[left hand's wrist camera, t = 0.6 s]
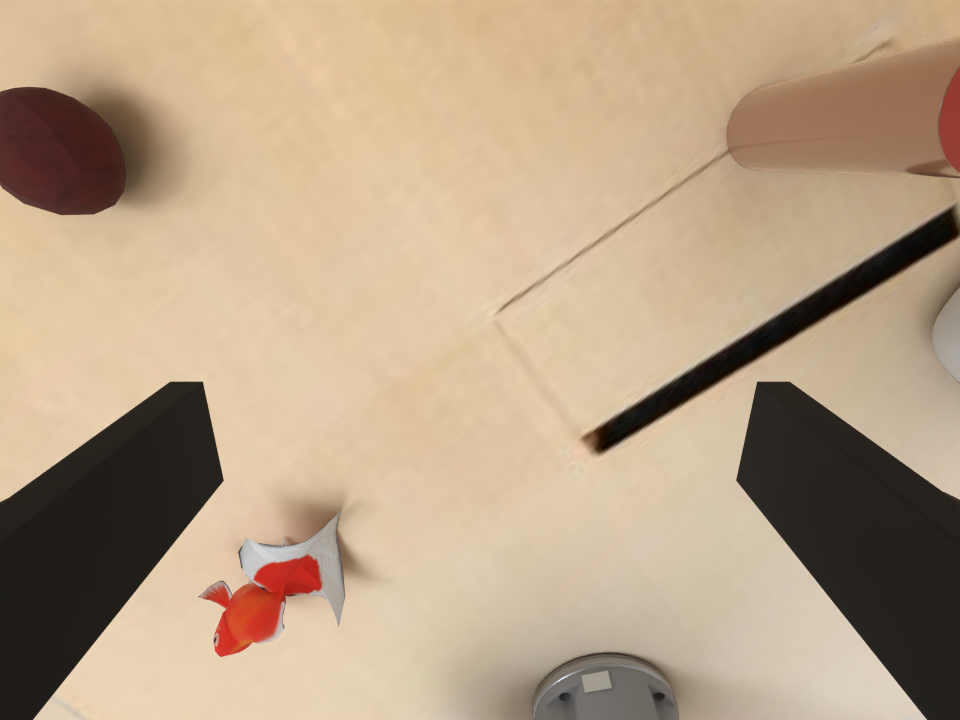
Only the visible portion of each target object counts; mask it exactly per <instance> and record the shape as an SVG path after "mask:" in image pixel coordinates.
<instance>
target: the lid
mask: <svg viewBox="0 0 960 720" xmlns="http://www.w3.org/2000/svg"><path fill="white" fill-rule="evenodd" d="M939 133H940V141H941V145H942V149H943V152H944V154H945V157H946V158H947V160H948V161H949V163H950V164H951V165H952V166H953V168H954V169H955V170H956V171H958V172H959V173H960V68H959V69H958V71H957V72H956V74H955V75H954V77H953V79H952V81H951V83H950V85H949V87H948V90H947V92H946V95H945V97H944V101H943V104H942V108H941V114H940V120H939Z"/></svg>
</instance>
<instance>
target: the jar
mask: <svg viewBox="0 0 960 720" xmlns="http://www.w3.org/2000/svg"><path fill="white" fill-rule="evenodd" d="M959 68H960V36H958V37H954V38H950V39H947V40H943V41H939V42H935V43H931V44H927V45H923V46H919V47H915V48H911V49H908V50H904V51H900V52H896V53H892V54H888V55H884V56H880V57H876V58H872V59H869V60H865V61H861V62H857V63H853V64H849V65H845V66H841V67H837V68H833V69H830V70H826V71H822V72H818V73H814V74H810V75H806V76H802V77H798V78H794V79H791V80H787V81H783V82H779V83H775V84H771V85H767V86H764V87H760V88H758V89H756V90H754V91H752V92H751V93H749V94H748V95H747V96H745V97H744V98H743V99H742V100H741V101H740V103H739V104H738V105H737V106H736V108H735V110H734V111H733V113H732V115H731V117H730V120H729V123H728V128H727V144H728V148H729V151H730V153H731V155H732V157H733V158H734V159H735V160H736V161H737V162H738V163H739V164H740V165H742V166H743V167H745V168H748V169H751V170H762V171H787V172H812V173H836V174H861V175H886V176H911V177H936V178H960V173H959V172H958V171H956V170H955V169H954V168H953V166H952V165H951V164H950V163H949V161H948V160H947V158H946V157H945V154H944V152H943V149H942V145H941V141H940V133H939V120H940V114H941V108H942V104H943V101H944V97H945V95H946V92H947V90H948V87H949V85H950V83H951V81H952V79H953V77H954V75H955V74H956V72H957V71H958V69H959Z"/></svg>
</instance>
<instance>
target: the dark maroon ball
mask: <svg viewBox="0 0 960 720" xmlns="http://www.w3.org/2000/svg"><path fill="white" fill-rule="evenodd" d="M125 179H126V170H125V165H124V159H123V154H122V150H121V148H120V145H119V143H118V141H117V139H116V137H115V135H114V133H113V131H112V129H111V127H110V126H109V125H108V124H107V123H106V122H105V121H104V120H103V119H102V118H101V117H100V116H99V115H98V114H97V113H95V112H94V111H92V110H91V109H89V108H88V107H86V106H85V105H83V104H82V103H80V102H79V101H77V100H76V99H74V98H72V97H70V96H67V95H65V94H62V93H59V92H56V91H53V90H50V89H47V88H37V87H21V88H13V89H9V90H5V91H1V92H0V185H1V187H2V188H3V189H4V190H6V191H7V192H9V193H10V194H11V195H13V196H14V197H15V198H17V199H18V200H20V201H21V202H22V203H24V204H27V205H30V206H33V207H37V208H40V209H43V210H46V211H50V212H53V213H56V214H59V215H85V214H96V213H98V212H100V211H103V210H105V209H107V208H109V207H111V206H113V205H115V204H116V203H117V201H118V200H119V198H120V197H121V195H122V193H123V192H124V186H125Z"/></svg>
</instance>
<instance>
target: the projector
mask: <svg viewBox="0 0 960 720" xmlns="http://www.w3.org/2000/svg"><path fill="white" fill-rule="evenodd" d="M932 344H933V348H934V351H935V354H936V356H937V359H938V360H939V362H940V363H941V365H942V366H943V367H944V368H945V369H946V370H947V371H948V372H949V373H950V374H951V375H952V376H953V377H954V378H955V379H956V380H957V381H958V382H959V383H960V287H959V288H958V289H957V291H956V292H955V293H954V294H953V295H952V297H951V298H950V299H949V301H948V302H947V303H946V304H945V306H944V307H943V309H942V310H941V312H940V314H939V315H938V317H937V319H936V321H935V323H934V326H933V330H932Z"/></svg>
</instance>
